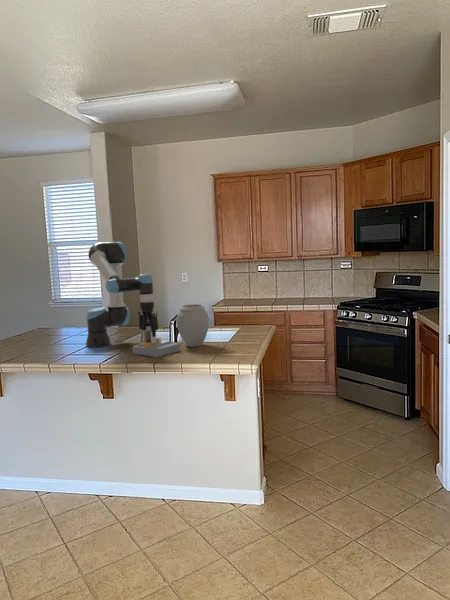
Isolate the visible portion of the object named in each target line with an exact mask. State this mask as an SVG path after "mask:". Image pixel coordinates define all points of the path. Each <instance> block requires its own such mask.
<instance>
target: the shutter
mask: <svg viewBox="0 0 450 600" xmlns="http://www.w3.org/2000/svg"><path fill="white" fill-rule="evenodd" d="M155 338H156V341H157V344H160V343H164V342H168V341H169V340H166V339H165V340H164V339H163V340H162V337H155Z"/></svg>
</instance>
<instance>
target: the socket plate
mask: <svg viewBox="0 0 450 600" xmlns="http://www.w3.org/2000/svg"><path fill="white" fill-rule="evenodd" d="M167 341H168V342H164V343H160V344H156V345H152V346H149V347H142V343H140V344H139V343H137V345H133V346H132V354H135V355H141V356H146V357H147V356H149V357H154V358H158V357H162V356H165V355H170V354H173V353H177V352H180V351H181V344H180V343H175V342H172V340H167Z"/></svg>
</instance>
